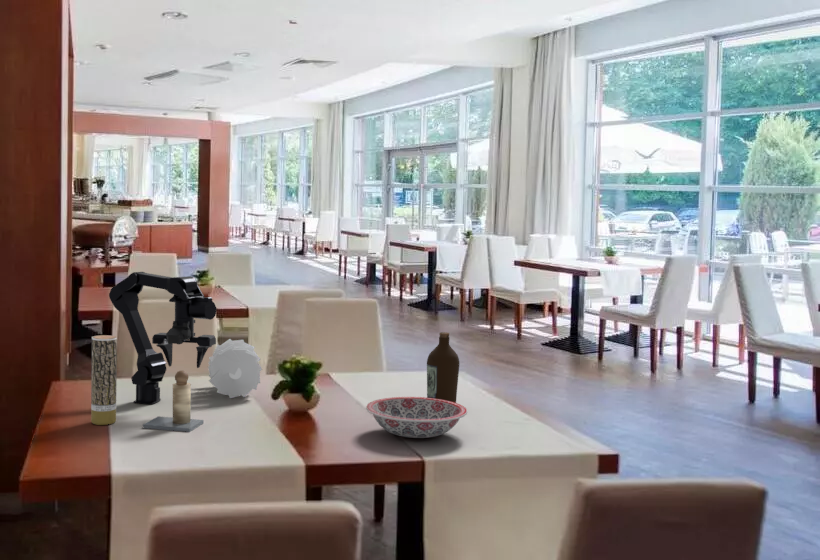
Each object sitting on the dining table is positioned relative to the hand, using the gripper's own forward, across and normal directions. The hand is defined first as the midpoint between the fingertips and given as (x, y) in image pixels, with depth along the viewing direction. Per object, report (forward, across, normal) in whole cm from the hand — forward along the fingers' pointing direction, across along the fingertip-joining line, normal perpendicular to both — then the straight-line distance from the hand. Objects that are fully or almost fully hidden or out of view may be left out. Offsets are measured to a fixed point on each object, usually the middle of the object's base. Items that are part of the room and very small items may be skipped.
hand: (184, 367), depth 277 cm
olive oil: (+14, +78, +26) cm, 83 cm away
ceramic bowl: (+14, +75, -9) cm, 77 cm away
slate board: (+13, +6, -21) cm, 25 cm away
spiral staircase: (+13, +7, +26) cm, 30 cm away
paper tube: (+13, -14, -24) cm, 31 cm away
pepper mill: (+12, +8, -20) cm, 24 cm away
